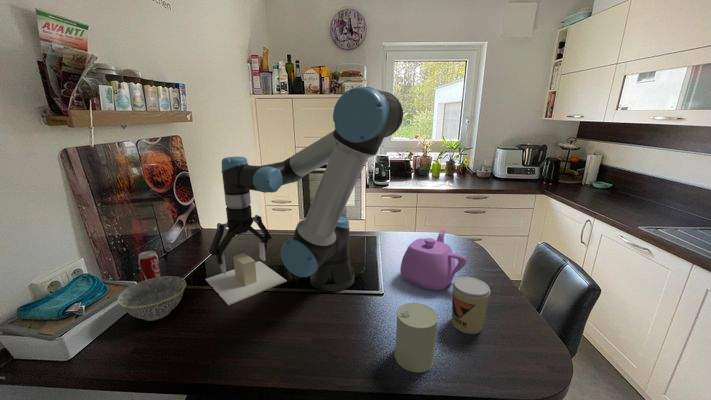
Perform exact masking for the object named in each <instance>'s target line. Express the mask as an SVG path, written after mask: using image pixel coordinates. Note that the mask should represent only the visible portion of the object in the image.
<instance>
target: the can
mask: <svg viewBox="0 0 711 400" xmlns="http://www.w3.org/2000/svg"><path fill="white" fill-rule="evenodd" d="M438 316H439V315H438V313H437V312H436V311H435V310H434V309H433V308H432V307H431V306H429V305H426V304H424V303H419V302H407V303H404V304H402V305H400V306H399V307H398V308H397V310H396V332H395V333H396V334H395V349H394V359H395V361H396V363H397V364H398V366H400V367H401V368H402V369H404V370H406V371H409V372H410V373H418V374H419V373H425V372H428V371H430V370H431V369H432V367H433V366H434V365H435V349H436V338H437V327H438V320H439V317H438Z"/></svg>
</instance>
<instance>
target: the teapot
mask: <svg viewBox="0 0 711 400" xmlns="http://www.w3.org/2000/svg"><path fill="white" fill-rule="evenodd" d="M445 235H446V230H441V231H439V233H438V235H437V238H436V239H435V238H432V237H426V238H418V239H415V240H413V241H412V242H411V243H410V244H409V245H408V246H407V248H406V250H405V252H404V255H403V256H402V260H401V262H400V263H401V264H400V268H399V271H400V274H401V276H402V278H403V280H405V281H406V282H408V283H410V284H413V285H414V286H417V287H420V288H424V289H427V290H433V291H442V290H445V289H446V287H447V286H448V285H450V283H451V282H452V281H453V279H454V277H455V276H456V274H457V273H458V272H459V271H461V270H462V269H463V268H464V267H465V266H466V263H467V257H466V256H464V255H462V254H460V253H453V250H452V248H451V246H450V245H449V244H447V243H445V241H444V240H445ZM455 259H456V260H457V264H456V260H455Z"/></svg>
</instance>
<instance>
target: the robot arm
mask: <svg viewBox="0 0 711 400" xmlns="http://www.w3.org/2000/svg"><path fill="white" fill-rule="evenodd" d="M333 108H334V109H333V113H332V120H333V122H334V130H333V131H331V132H329V133H328V134H326V135H324V136H322V137H320V138H319V139H317V140H316V141H314V142H313V143H311V144H309V145H308V146H307V147H305V148H302V149H301V150H299V151H298V152H296V153H295V154H292V155H291V156H289V157H288V158H286V159H285V160H283V161H280V162H279V161H278V162H274V163H268V164H263V165H252V164H249V162H248V159H247V158H246V157H245V156H226V157H223V158H222V159H221V174H222V175H221V176H222V183H223V190H224V191H223V192H224V200H225V201H224V202H225V206H226V208H225V211H226V223H220V222H218V223H217V224H216V232H215V234H214V237H213V240H212V243H211V245H210V247H209V249H208V253H209V254H210V255H211V256H213V257H214V256H215V259H216V263H217V265H219V266H220V272H221V273H224V274H226V272H227V267H226V266H227V265H226V257H225V254H224V251H225V250H226V249H227V247H228V245H229V244H230V242H231V241H232V239H233V238H235V236H236V235H241V234H245V233H248V231H249V232H250V233H252V234H253V235H254V236H255V237H256V238H258V239H259V241H258V249H259V259H260V260H262V261H263V262H265V261H266V251H267V249H268V245H267V244H268V242H269V240H271V239H272V238H273V237H272V235H271V234H270V232H269V230H268V229H267V227H266V226H265V224H264V223H263V220H262V216H260V215H258V214H255V215H254V216H252V214H253V213H252V206H251V201H252V200H251V191H255V192H261V193H264V194H265V193H266V194H267V193H269V194H270V193H271V194H272V193H273V194H274V193H276V192H278V191H279V189H280V188H281V187H282V186H285V185H289V184H293V183H297V182H299V181H300V180H302V179H303V177H304V176H307V175H308V174H310V173H312V172H314V171H315V170H318V169H320V168H321V167H323V166H325V165H326V167H325V170H324V172H323V174H322V177H321V179H320V181H319V185H318V186H317V190H316V193H315V194H314V198H313V200H312V202H311V204H310V206H309V209H308V213H307V214H306V216H305V218H303V219H301V220H300V221H299V222H298V223H297V224H296V226H295V230H294V232H293V234H292V237H291V238H288V239H287V240H285V242H283V244H281V247H280V258H281V260H282V262H283V266H285V267H286V269H287V270H288V271H289V272H290V273H291V274H292V275H294V276H297V277H298V278H308V277H309V276H310V277H309V279H310V284H311V286H312V287H313V288H314V289H317V290H319V291H321V290H322V292H327V291H335V292H340V291H339V290H341V291H344V290H346V289H348V288H350V287H351V286H352V285H353V284H354V282H355V271H354V268H353V266H352V263H351V259H350V221H349V219H348V218H346V217H345V216H342V214H343V212H344V210H345V207H346V205H347V203H348V201H349V199H350V197H351V195H352V193H353V191H354V188H355V186H356V184H357V182H358V179H359V178H360V176H361V173H362V171H363V169H364V167H365V165H366V163H367V160H368V159H369V158H371V157H375V156H376V155H377V154H378V151H379V149H380V148H381V145H382V143H383V141H384V139H386V138H388V137H390V136H392V135H393V134H395V133H397V132H398V130H399V129H400V127H401V125H402V123H403V120H404V109H403V105H402V103H401V102H400V100H399V99H398V97H396V95H394V94H393V93H391V92H388V91H384V90H380V89H377V88H373V87H371V86H359V87H353V88H350V89H349V90H347V91H345V92H344V93H342V95H341V96H339V98H338V100H337V101H336V103H335V105H334V107H333ZM253 223H256V225H257V226H258V228H259V229H260V231H261V233H262V234H263V235H264V236H263V235H262V234H261V233H259V232H258V231H257V230H256V229H255V228H254V227H253V226H252V225H253ZM227 228H228V229H227ZM226 229H227V231H226ZM225 231H226V234H225V235H224V232H225ZM223 236H224V237H223Z"/></svg>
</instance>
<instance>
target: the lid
mask: <svg viewBox="0 0 711 400" xmlns="http://www.w3.org/2000/svg"><path fill="white" fill-rule="evenodd" d="M232 260H233V268H234V269H231V270H229V271H226V274H224V273H223V272H221V273H219V274H216V275H214V276H210V277H207V278H205V279H204V280H205V281H206V282H207V284H208V285H209V286H210V287H211V288H212V287H213V288H212V289H213V290H214V292H216V293H218V294H219V295H218V294H217V295H218V296H219V297H220V298H221V299H222V300H223V302H225V304H226V305H227V306H231V305H233V304H235V303H238V302H240V301H242V300H245V299H248V298H250V297H252V296H255V295H257V294H259V293H262V292H264V291H267V290H269V289H271V288H274V287H278V286H280V285H281V284H284V283H287V281H288V280H287V279H285V278H284V277H283V276H281V275H280V274H279V273H277V272H276V271H274V270H273V269H271V268H270V267H269V266H268V265H266V264H265V263H264V262H262V261H261V260H260V261H259V260H258V261H255V259H253V257H251V256H250V255H248V254H247V253H245V252H244V253H240V254H237V255H233V259H232Z"/></svg>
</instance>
